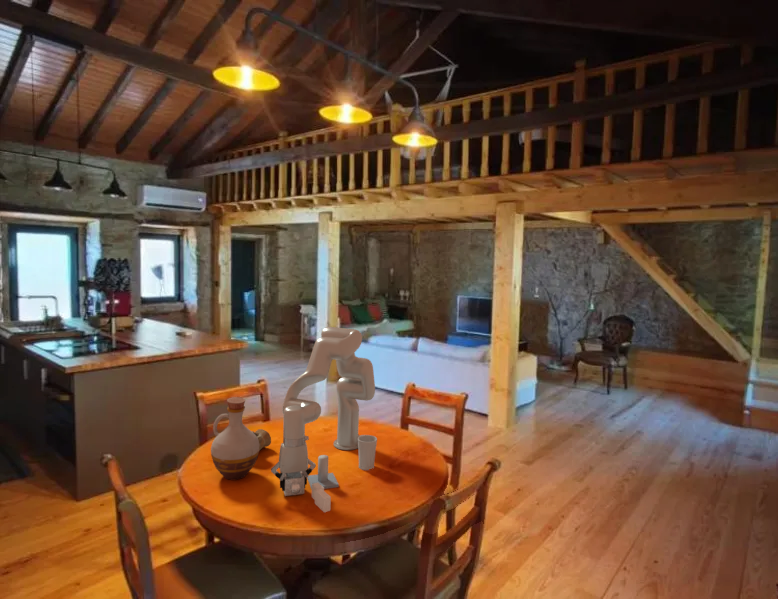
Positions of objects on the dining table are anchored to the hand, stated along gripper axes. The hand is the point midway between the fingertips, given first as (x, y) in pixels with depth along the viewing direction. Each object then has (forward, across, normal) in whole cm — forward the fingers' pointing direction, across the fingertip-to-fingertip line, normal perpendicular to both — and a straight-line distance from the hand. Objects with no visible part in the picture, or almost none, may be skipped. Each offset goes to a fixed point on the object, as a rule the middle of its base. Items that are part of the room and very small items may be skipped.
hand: (293, 487), depth 173 cm
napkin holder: (+2, -8, +10) cm, 13 cm away
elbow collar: (+1, 0, +2) cm, 2 cm away
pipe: (+2, +11, -38) cm, 39 cm away
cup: (+2, -32, -14) cm, 35 cm away
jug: (+2, +20, -20) cm, 28 cm away
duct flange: (+2, -12, -5) cm, 13 cm away
